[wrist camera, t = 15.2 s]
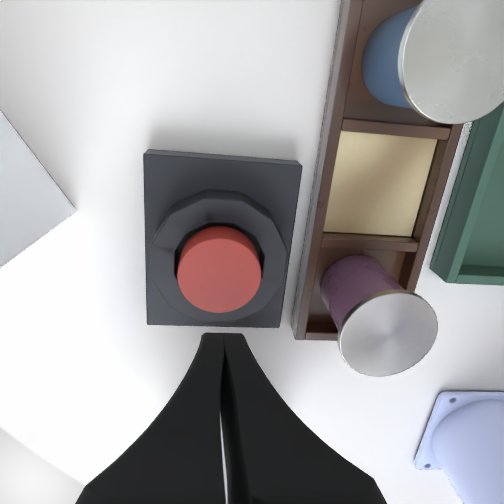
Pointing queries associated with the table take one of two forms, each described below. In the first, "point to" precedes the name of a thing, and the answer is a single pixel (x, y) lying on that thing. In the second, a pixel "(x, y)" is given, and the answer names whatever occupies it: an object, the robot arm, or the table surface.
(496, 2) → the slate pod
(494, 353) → the table surface
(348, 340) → the mauve pod
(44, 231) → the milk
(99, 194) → the table surface
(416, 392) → the table surface
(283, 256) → the button block
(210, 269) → the button
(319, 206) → the pod stand
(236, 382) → the robot arm
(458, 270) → the tray
